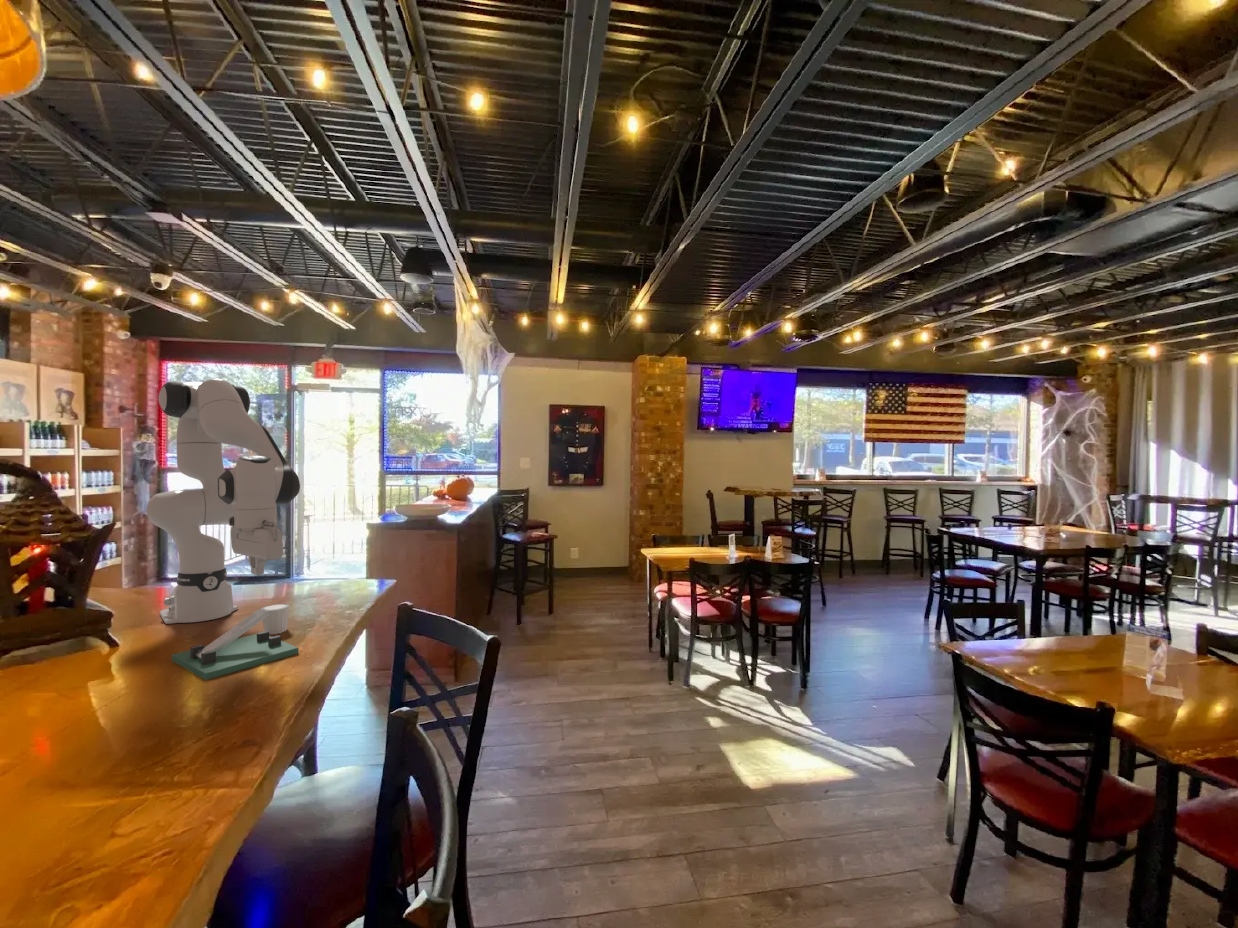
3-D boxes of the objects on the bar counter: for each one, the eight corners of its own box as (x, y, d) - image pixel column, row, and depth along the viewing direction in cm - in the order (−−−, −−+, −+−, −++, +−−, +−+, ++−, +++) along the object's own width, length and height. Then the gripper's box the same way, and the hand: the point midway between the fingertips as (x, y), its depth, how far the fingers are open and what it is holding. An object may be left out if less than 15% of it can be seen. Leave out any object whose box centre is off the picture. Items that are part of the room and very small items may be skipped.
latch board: (171, 660, 137) (171, 644, 137) (261, 637, 153) (261, 623, 153) (205, 680, 126) (205, 662, 125) (298, 653, 142) (298, 637, 142)
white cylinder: (295, 627, 162) (295, 603, 162) (278, 635, 155) (278, 610, 155) (273, 626, 163) (272, 602, 163) (255, 634, 156) (255, 609, 156)
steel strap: (197, 659, 134) (193, 653, 134) (263, 612, 146) (259, 607, 145) (204, 662, 132) (200, 657, 131) (270, 615, 144) (266, 609, 143)
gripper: (289, 521, 139) (290, 576, 140) (252, 516, 151) (253, 567, 151) (262, 523, 134) (263, 581, 134) (225, 518, 146) (226, 571, 146)
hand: (257, 574), depth 143 cm, fingers closed
